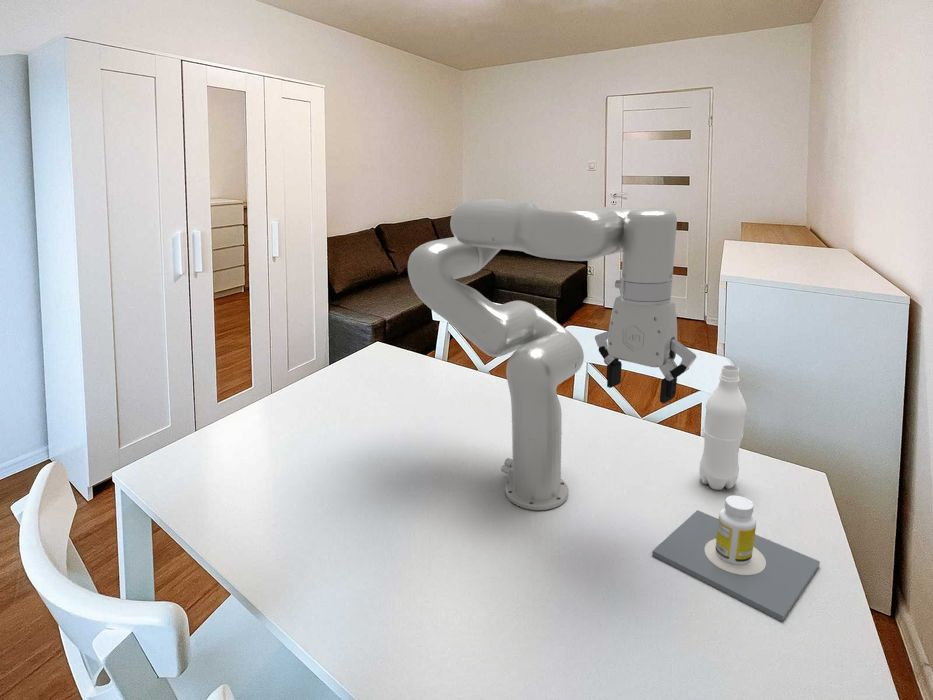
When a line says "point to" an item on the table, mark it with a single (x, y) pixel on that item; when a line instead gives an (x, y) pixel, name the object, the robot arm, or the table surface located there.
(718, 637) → the table surface
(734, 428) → the water bottle
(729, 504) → the supplement bottle
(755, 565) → the slate board
